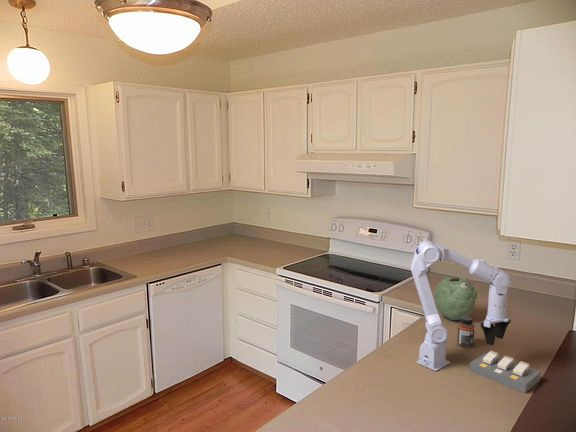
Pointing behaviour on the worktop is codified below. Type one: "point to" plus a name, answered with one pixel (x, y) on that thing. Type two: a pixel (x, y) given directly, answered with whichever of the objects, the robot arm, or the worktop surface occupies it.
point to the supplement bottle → (466, 332)
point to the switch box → (505, 374)
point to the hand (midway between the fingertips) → (494, 341)
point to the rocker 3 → (521, 368)
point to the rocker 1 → (490, 357)
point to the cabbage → (455, 297)
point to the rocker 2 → (505, 362)
